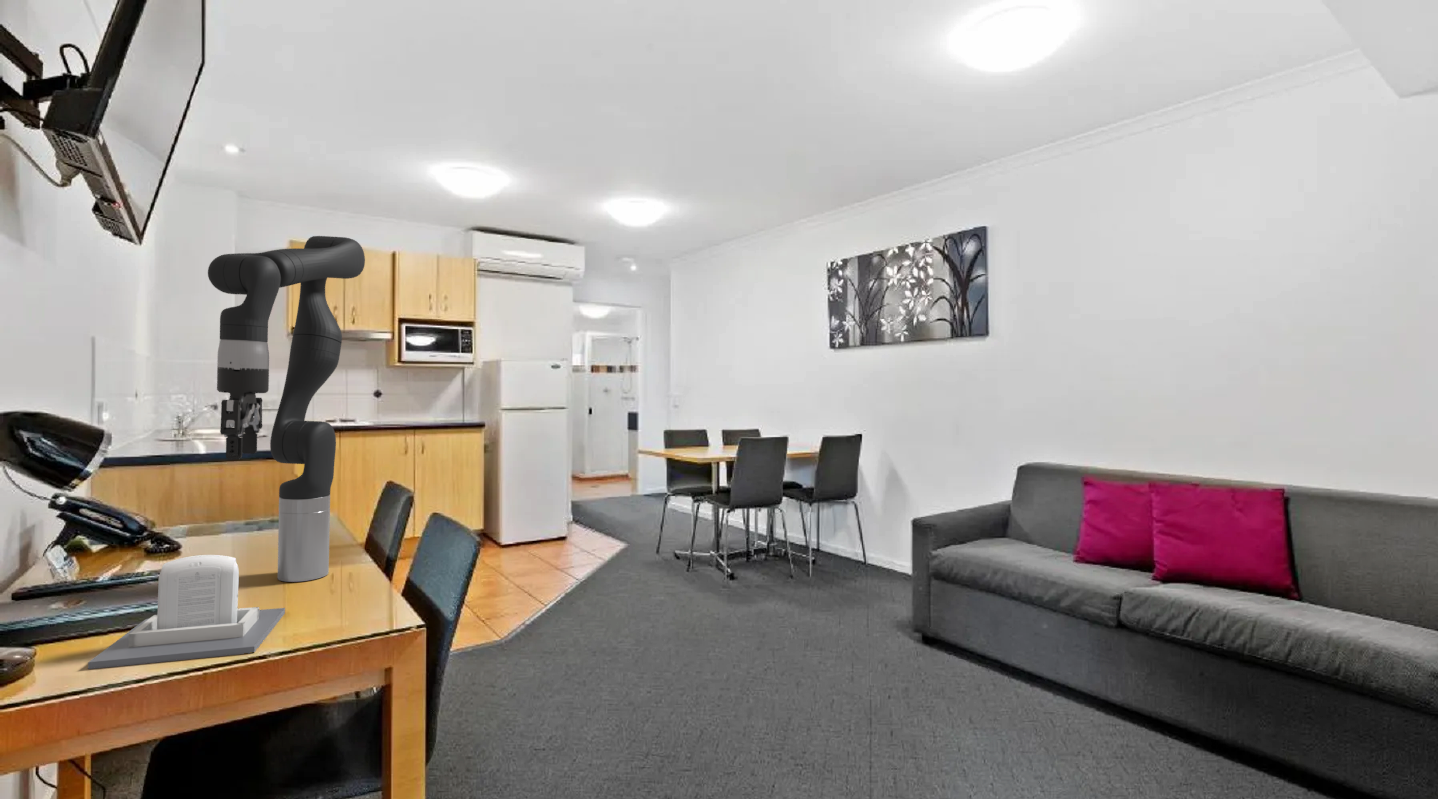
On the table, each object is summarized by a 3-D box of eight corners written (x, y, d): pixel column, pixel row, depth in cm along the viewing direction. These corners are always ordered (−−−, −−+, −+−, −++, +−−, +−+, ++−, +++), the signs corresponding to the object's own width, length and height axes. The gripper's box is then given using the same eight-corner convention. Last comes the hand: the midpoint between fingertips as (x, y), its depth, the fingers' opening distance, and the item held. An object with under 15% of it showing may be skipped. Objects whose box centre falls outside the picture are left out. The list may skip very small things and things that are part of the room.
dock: (146, 624, 110) (146, 607, 110) (284, 613, 117) (285, 596, 117) (88, 669, 93) (88, 648, 93) (254, 652, 100) (254, 633, 100)
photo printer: (239, 622, 110) (240, 549, 109) (236, 630, 106) (237, 555, 106) (160, 632, 104) (161, 556, 104) (153, 641, 101) (155, 562, 100)
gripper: (231, 366, 122) (230, 451, 122) (203, 364, 109) (201, 461, 109) (278, 367, 125) (277, 451, 125) (256, 366, 112) (254, 460, 112)
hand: (241, 456), depth 117 cm, fingers open, 8 cm apart
